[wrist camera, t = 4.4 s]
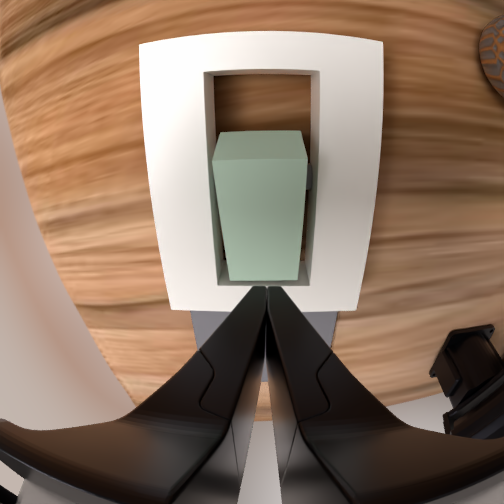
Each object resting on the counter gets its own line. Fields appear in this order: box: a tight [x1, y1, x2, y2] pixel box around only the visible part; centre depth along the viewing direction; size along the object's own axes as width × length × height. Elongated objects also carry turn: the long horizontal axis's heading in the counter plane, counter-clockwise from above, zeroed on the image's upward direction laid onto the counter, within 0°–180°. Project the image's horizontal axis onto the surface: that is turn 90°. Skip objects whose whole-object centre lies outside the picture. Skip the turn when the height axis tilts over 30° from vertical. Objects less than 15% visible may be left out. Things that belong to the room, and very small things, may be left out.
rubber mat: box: [190, 310, 338, 382], centre depth 24 cm, size 11×10×1 cm
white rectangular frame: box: [139, 31, 383, 312], centre depth 16 cm, size 12×16×3 cm
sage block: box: [212, 131, 308, 281], centre depth 16 cm, size 4×8×3 cm, turn 2°
